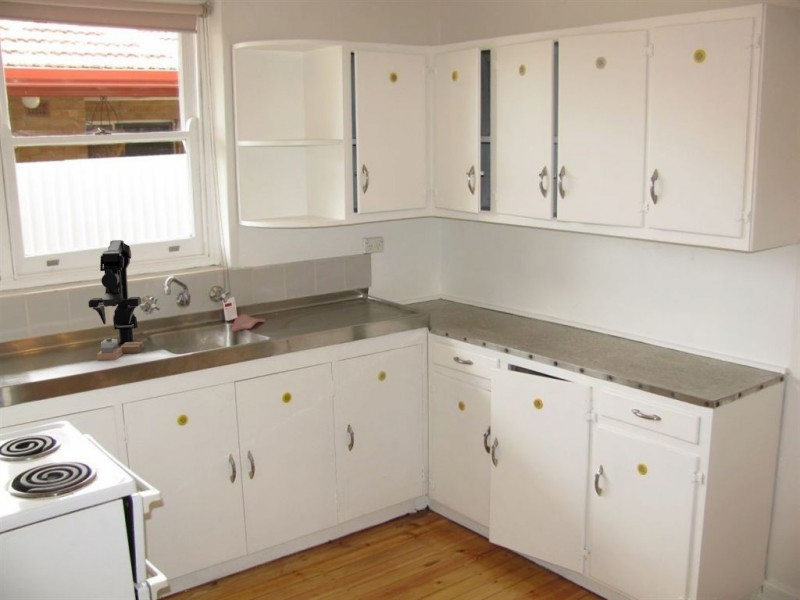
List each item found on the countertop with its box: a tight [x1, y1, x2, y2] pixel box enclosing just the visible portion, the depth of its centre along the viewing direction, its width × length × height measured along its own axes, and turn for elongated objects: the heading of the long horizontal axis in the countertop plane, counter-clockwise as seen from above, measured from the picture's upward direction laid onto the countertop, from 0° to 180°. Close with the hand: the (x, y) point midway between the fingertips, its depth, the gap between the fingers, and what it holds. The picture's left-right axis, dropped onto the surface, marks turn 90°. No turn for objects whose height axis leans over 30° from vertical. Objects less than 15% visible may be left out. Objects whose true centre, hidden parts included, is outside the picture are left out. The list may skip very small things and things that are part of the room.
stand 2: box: [119, 341, 145, 354], centre depth 335 cm, size 9×7×2 cm
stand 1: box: [97, 347, 123, 361], centre depth 324 cm, size 9×7×2 cm
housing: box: [100, 337, 119, 353], centre depth 324 cm, size 7×4×5 cm, turn 5°
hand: (116, 323), depth 326 cm, fingers open, 9 cm apart
